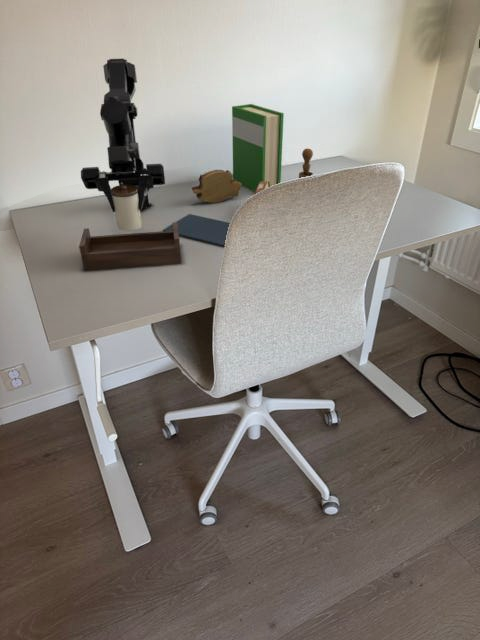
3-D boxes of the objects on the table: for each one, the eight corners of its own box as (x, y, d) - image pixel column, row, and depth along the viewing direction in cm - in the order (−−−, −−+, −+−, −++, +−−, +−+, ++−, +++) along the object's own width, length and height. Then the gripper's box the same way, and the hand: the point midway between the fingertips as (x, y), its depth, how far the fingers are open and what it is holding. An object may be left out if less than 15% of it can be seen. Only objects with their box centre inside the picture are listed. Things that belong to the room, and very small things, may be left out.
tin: (263, 223, 133) (263, 194, 128) (252, 222, 134) (252, 194, 129) (270, 204, 145) (271, 177, 141) (260, 203, 146) (261, 176, 141)
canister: (111, 227, 111) (103, 187, 105) (128, 218, 115) (122, 179, 110) (131, 233, 108) (125, 191, 103) (148, 223, 113) (143, 183, 107)
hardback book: (280, 190, 155) (283, 113, 142) (261, 195, 152) (263, 116, 138) (250, 176, 168) (251, 103, 154) (233, 180, 164) (232, 106, 150)
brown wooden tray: (89, 252, 119) (83, 228, 115) (179, 245, 122) (177, 222, 118) (84, 271, 111) (78, 246, 107) (181, 263, 114) (179, 238, 110)
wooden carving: (236, 194, 153) (235, 163, 147) (243, 198, 150) (243, 167, 144) (190, 203, 146) (188, 171, 140) (196, 208, 143) (194, 176, 137)
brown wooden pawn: (291, 206, 144) (294, 146, 133) (311, 205, 144) (316, 145, 134) (294, 214, 138) (298, 152, 128) (316, 213, 139) (322, 151, 128)
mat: (162, 232, 129) (162, 230, 129) (189, 215, 138) (189, 213, 138) (225, 247, 121) (225, 245, 121) (248, 229, 130) (248, 227, 130)
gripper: (73, 130, 102) (77, 198, 99) (159, 127, 104) (165, 192, 101) (84, 157, 113) (88, 218, 110) (162, 153, 115) (168, 213, 112)
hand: (126, 210), depth 108 cm, fingers closed on canister, 6 cm apart
